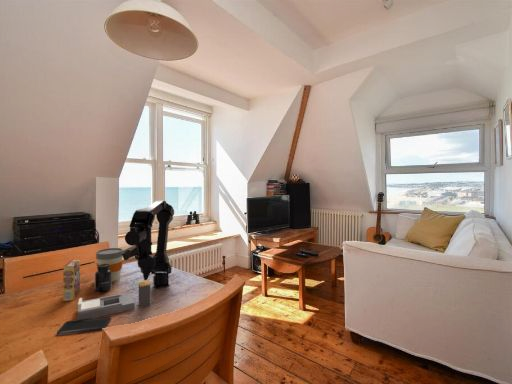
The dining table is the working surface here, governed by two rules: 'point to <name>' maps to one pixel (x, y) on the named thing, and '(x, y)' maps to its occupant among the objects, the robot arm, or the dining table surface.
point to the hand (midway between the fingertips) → (144, 276)
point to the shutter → (88, 304)
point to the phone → (84, 325)
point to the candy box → (71, 280)
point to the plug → (144, 293)
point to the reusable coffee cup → (111, 260)
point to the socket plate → (109, 306)
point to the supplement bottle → (103, 278)
